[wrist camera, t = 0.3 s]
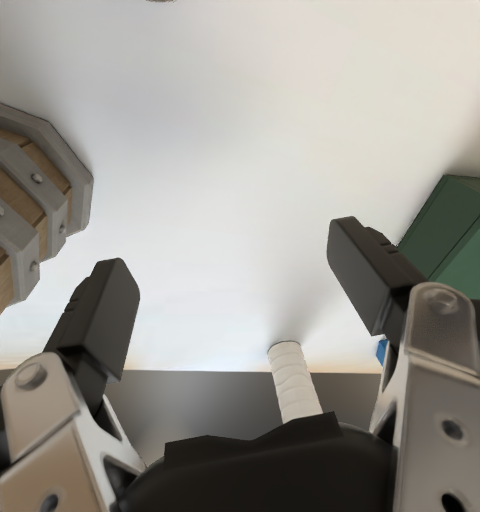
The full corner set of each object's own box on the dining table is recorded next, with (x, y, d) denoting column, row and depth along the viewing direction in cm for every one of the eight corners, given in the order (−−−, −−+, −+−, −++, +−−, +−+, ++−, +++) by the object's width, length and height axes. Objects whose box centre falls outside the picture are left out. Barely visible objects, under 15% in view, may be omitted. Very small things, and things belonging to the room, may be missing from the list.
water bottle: (264, 359, 50) (304, 550, 31) (271, 340, 46) (321, 547, 27) (305, 357, 52) (367, 538, 33) (315, 339, 48) (392, 533, 29)
